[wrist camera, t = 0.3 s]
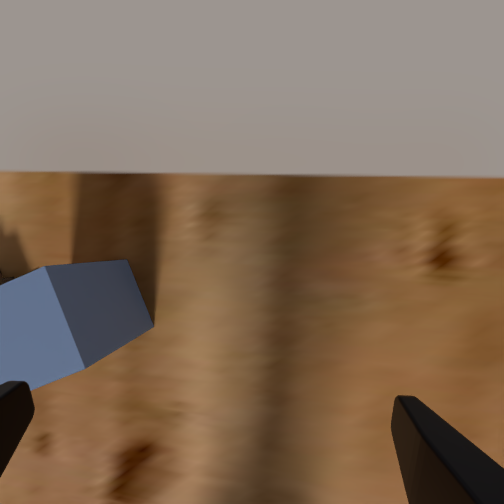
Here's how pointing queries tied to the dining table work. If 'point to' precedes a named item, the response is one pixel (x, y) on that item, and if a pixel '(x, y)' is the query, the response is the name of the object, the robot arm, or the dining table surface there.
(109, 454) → the dining table surface
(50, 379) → the book
